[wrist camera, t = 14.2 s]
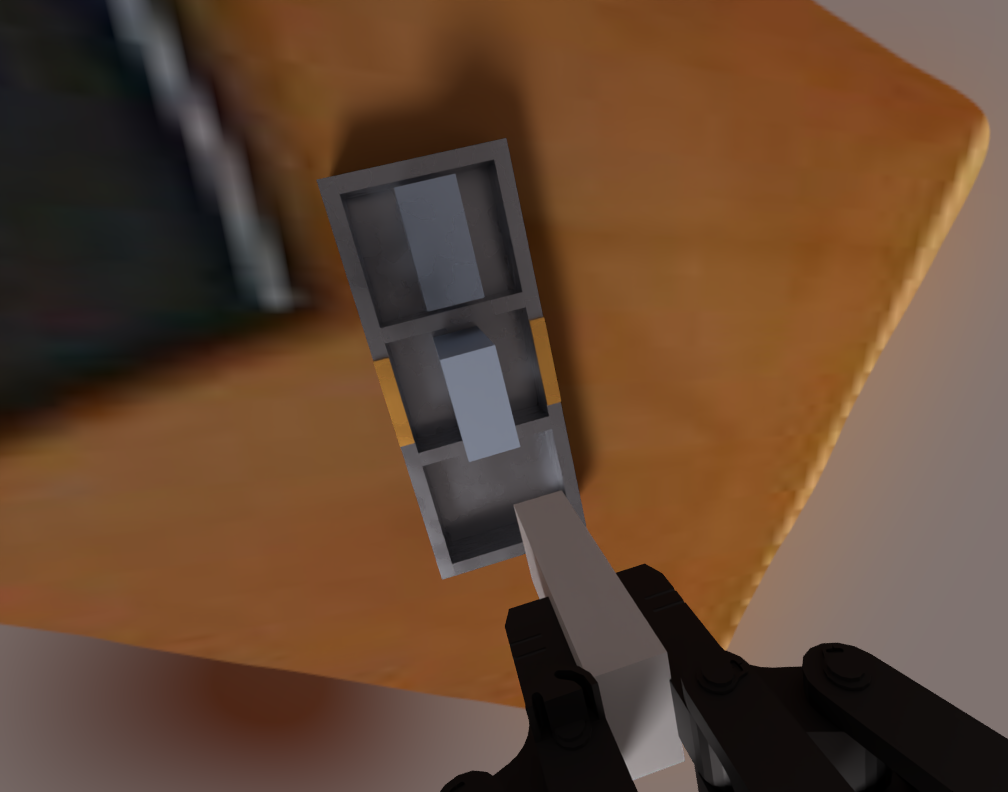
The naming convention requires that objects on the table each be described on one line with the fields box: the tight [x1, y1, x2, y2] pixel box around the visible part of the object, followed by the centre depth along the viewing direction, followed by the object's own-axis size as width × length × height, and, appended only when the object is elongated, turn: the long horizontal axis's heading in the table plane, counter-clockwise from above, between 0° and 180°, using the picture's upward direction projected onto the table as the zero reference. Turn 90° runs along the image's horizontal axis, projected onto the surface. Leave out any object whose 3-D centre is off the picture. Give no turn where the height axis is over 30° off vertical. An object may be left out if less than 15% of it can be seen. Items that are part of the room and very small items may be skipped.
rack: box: [317, 138, 586, 579], centre depth 34 cm, size 28×11×9 cm, turn 13°
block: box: [433, 326, 520, 462], centre depth 34 cm, size 6×3×8 cm, turn 14°
